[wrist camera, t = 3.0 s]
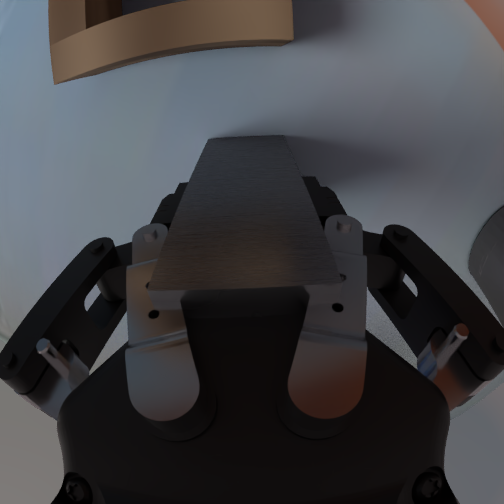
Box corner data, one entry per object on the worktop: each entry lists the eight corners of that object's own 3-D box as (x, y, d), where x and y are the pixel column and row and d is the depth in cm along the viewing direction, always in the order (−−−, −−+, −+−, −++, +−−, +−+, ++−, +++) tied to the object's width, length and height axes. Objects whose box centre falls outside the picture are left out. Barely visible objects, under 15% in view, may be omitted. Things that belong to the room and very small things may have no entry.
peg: (282, 135, 14) (342, 282, 5) (282, 199, 17) (316, 373, 8) (208, 139, 14) (146, 290, 5) (215, 202, 17) (187, 377, 8)
